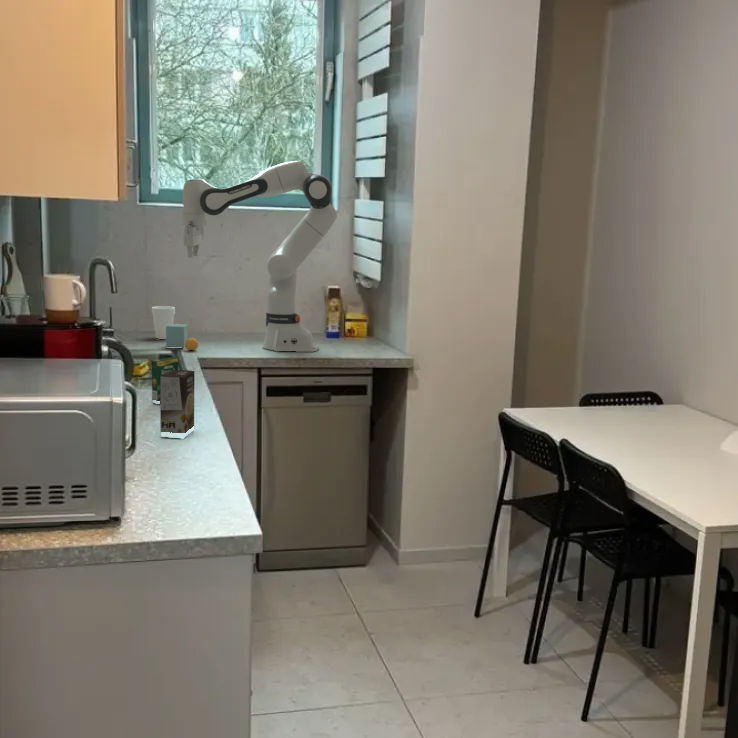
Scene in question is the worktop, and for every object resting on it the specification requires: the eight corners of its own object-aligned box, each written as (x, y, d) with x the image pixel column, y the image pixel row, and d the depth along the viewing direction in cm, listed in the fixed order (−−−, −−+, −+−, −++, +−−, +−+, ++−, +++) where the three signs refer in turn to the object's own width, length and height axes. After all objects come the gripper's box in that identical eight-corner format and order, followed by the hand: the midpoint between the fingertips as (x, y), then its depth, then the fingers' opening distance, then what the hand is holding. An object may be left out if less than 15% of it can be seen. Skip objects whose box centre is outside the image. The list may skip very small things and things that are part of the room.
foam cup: (151, 336, 377) (151, 306, 375) (173, 336, 380) (173, 306, 378) (153, 340, 368) (152, 309, 366) (176, 340, 371) (175, 308, 369)
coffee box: (184, 439, 225) (184, 377, 222) (159, 438, 226) (159, 375, 223) (195, 430, 234) (195, 370, 231) (171, 429, 235) (170, 368, 232)
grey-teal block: (187, 346, 358) (187, 324, 356) (184, 349, 351) (184, 326, 349) (170, 345, 358) (170, 323, 356) (166, 348, 351) (166, 326, 349)
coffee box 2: (157, 405, 259) (156, 360, 257) (151, 403, 261) (150, 359, 259) (179, 401, 265) (179, 357, 263) (173, 399, 267) (173, 356, 265)
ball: (199, 349, 351) (199, 337, 350) (196, 352, 346) (196, 339, 345) (186, 349, 351) (186, 336, 350) (183, 351, 346) (183, 338, 345)
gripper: (196, 222, 340) (195, 259, 342) (206, 220, 360) (205, 255, 362) (179, 221, 340) (179, 258, 342) (190, 219, 360) (190, 254, 362)
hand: (192, 256), depth 352 cm, fingers open, 8 cm apart
